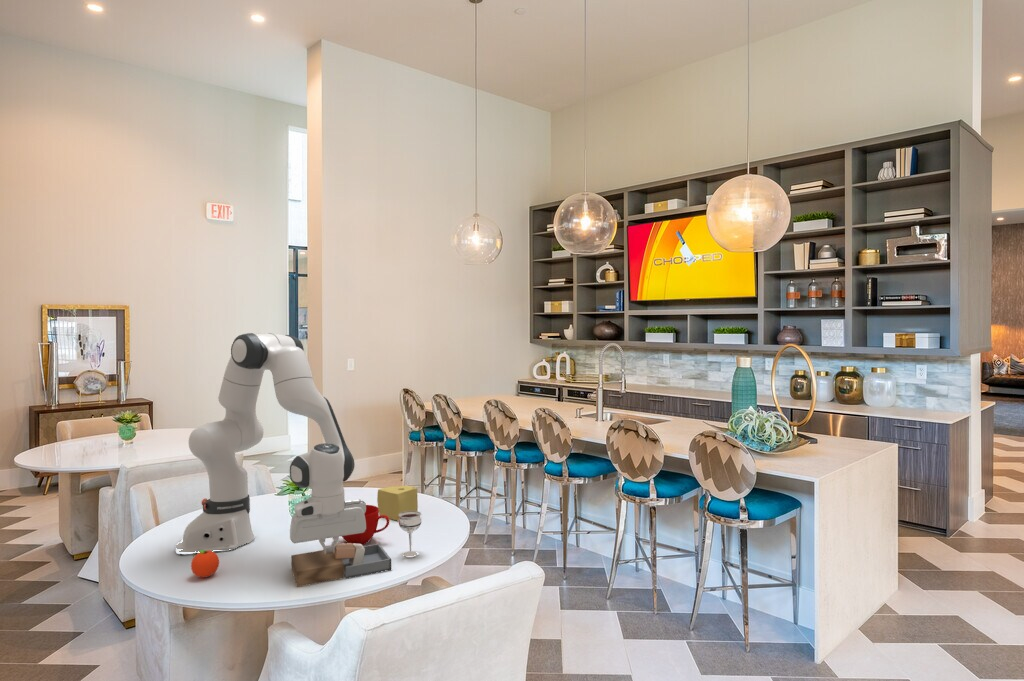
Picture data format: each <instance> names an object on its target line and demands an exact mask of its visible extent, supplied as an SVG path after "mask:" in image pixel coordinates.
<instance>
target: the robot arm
mask: <svg viewBox="0 0 1024 681" xmlns="http://www.w3.org/2000/svg"><path fill="white" fill-rule="evenodd" d="M230 347H231V348H230V354H231V355H230V358H229V360H228V363H227V365H226V368H225V371H224V374H223V377H222V382H221V385H220V389H219V394H218V398H217V399H218V402H219V404H220V405H221V406H222V407H223V408H224V409H225V417H224V418H223V419H222V420H218V421H211V422H208V423H205V424H203V425H200V426H198V427H197V428H195V429H194V430H192V431H191V433H190V435H189V437H188V448H189V450H190V452H191V454H192V455H193V456H194V457H196V458H198V459H199V460H200V461H201V462H202V464H203V465H204V467H205V469H206V472H207V475H208V484H209V485H208V487H209V499H208V498H202V500H201V505H202V513H200V514H199V515H198V516H196V518H194V519H193V520H192V521H191V522H189V523H188V524H187V526H186V527H185V529H184V532H183V535H182V539H183V542H182V543H179V544H178V545H176V544H175V546H176V548H177V549H183V550H181V551H179V552H195V551H196V552H198V551H203V550H204V551H213V550H229V549H234V550H236V549H238V548H239V547H238V546H240V547H242V546H245V545H247V544H249V543H251V542H252V541H254V539H255V538H256V537H255V534H254V532H253V529H252V524H251V523H252V522H251V517H250V511H251V498H250V495H249V487H248V485H249V484H248V482H249V481H248V480H249V478H248V477H249V476H248V471H247V469H245V468H244V467H243V466H242V465H239V463H238V461H237V459H236V453H239V452H243V451H247V450H249V449H251V448H253V447H254V446H256V445H258V444H259V443H260V442H261V441H262V440H263V437H264V426H263V424H262V423H261V422H260V420H259V419H258V417H257V414H256V413H257V411H256V410H257V409H256V408H257V401H258V397H259V393H260V389H261V385H262V382H263V381H262V380H263V376H264V372H265V371H266V370H269V371H270V372H271V374H272V381H273V387H274V392H275V393H274V394H275V398H276V400H277V403H278V404H279V405H280V406H281V407H282V409H284V410H286V411H287V412H289V413H292V414H295V415H298V416H303V417H306V418H309V419H311V420H313V421H314V422H315V423H317V425H318V427H319V429H320V432H321V434H322V436H323V439H324V443H318V444H316V445H314V446H313V447H312V448H311V450H310V451H307V452H306V453H302V454H300V455H296V456H295V457H294V458H293V460H292V461H291V463H290V466H289V477H290V481H291V483H292V484H293V485H295V486H296V487H298V488H299V489H308V488H310V489H311V493H310V497H308V498H306V499H303V500H301V501H299V502H297V503H295V504H294V506H293V507H294V508H293V510H294V514H293V515H292V517H291V519H290V520H291V521H290V529H289V540H290V541H291V543H292V544H300V543H306V542H313V541H314V542H315V541H318V543H319V544H320V545H321V546H322V548H323V549H322V550H323V552H324V555H325V554H331V553H335V546H336V545H337V544H339V541H340V538H339V537H342V536H345V535H352V534H358V533H363V532H364V531H365V530H366V520H365V515H364V514H365V512H366V505H367V504H366V501H364V500H361V499H359V498H358V499H355V500H346V499H345V488H344V484H343V483H345V482H347V481H348V479H349V478H350V477H351V476H352V474H353V472H354V470H355V466H356V465H355V459H354V456H353V454H352V453H351V451H350V448H349V447H348V445H347V443H346V441H345V438H344V436H343V432H342V431H341V428H340V425H339V422H338V420H337V418H336V414H335V412H334V409H333V407H332V405H331V402H330V401H329V400H328V398H326V397H325V396H323V395H322V393H320V391H319V390H318V388H317V386H316V384H315V381H314V376H313V372H312V369H311V365H310V362H309V360H308V358H307V355H306V353H305V351H304V345H303V343H302V341H301V340H300V339H299V338H298V337H295V336H293V335H290V334H281V333H275V332H274V333H273V332H267V333H266V332H265V333H252V332H247V333H243V334H240V335H238V336H236V337H235V338H234V339H233V342H232V344H231V346H230ZM326 539H332V540H333V541H332V543H331V545H325V543H326ZM246 543H247V544H246ZM244 544H245V545H244ZM241 545H242V546H241ZM237 547H238V548H237ZM235 548H236V549H235Z"/></svg>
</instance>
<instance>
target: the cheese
mask: <svg viewBox="0 0 1024 681" xmlns="http://www.w3.org/2000/svg"><path fill="white" fill-rule="evenodd" d="M376 496H377V498H376V499H377V501H376V502H377V507H378V508H379V516H381V515H386V516H388V518H389V520H392V519H393V521H396V520H397V522H398V521H399V518H400V517H399V514H400V513H402V512H406V511H418V508H419V506H418V505H419V504H418V503H419V502H418V500H419V499H418V488H417V487H415V486H412V485H406V484H405V485H399V486H393V485H392V486H386V487H381V488H379V489H378V490H377V495H376Z"/></svg>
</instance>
